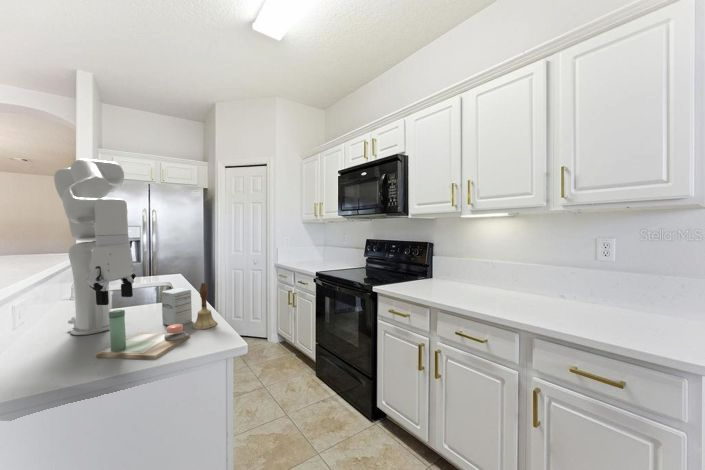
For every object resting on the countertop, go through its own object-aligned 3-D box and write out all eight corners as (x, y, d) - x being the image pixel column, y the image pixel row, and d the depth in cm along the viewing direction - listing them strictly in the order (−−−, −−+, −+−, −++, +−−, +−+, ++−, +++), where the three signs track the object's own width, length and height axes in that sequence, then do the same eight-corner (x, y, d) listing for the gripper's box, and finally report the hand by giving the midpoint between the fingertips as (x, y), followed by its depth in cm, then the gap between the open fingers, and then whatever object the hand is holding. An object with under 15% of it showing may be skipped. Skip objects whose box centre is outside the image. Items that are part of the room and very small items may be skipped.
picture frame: (96, 357, 88) (95, 350, 88) (138, 335, 104) (138, 329, 103) (155, 358, 86) (155, 352, 86) (189, 336, 102) (189, 331, 102)
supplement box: (161, 324, 115) (160, 291, 114) (180, 318, 121) (179, 287, 120) (173, 327, 111) (172, 293, 110) (192, 321, 118) (191, 289, 117)
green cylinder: (106, 351, 89) (104, 313, 88) (117, 346, 92) (116, 309, 92) (119, 351, 88) (117, 314, 88) (129, 346, 92) (127, 310, 91)
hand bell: (187, 328, 110) (185, 285, 109) (202, 321, 118) (200, 280, 117) (207, 330, 109) (206, 285, 108) (221, 322, 117) (220, 281, 116)
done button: (163, 333, 97) (163, 328, 97) (172, 328, 102) (172, 323, 102) (177, 333, 97) (177, 329, 97) (186, 328, 101) (186, 324, 101)
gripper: (124, 238, 97) (127, 293, 98) (70, 243, 80) (74, 309, 81) (147, 238, 97) (149, 293, 98) (97, 243, 79) (101, 309, 81)
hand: (115, 300), depth 89 cm, fingers open, 7 cm apart
